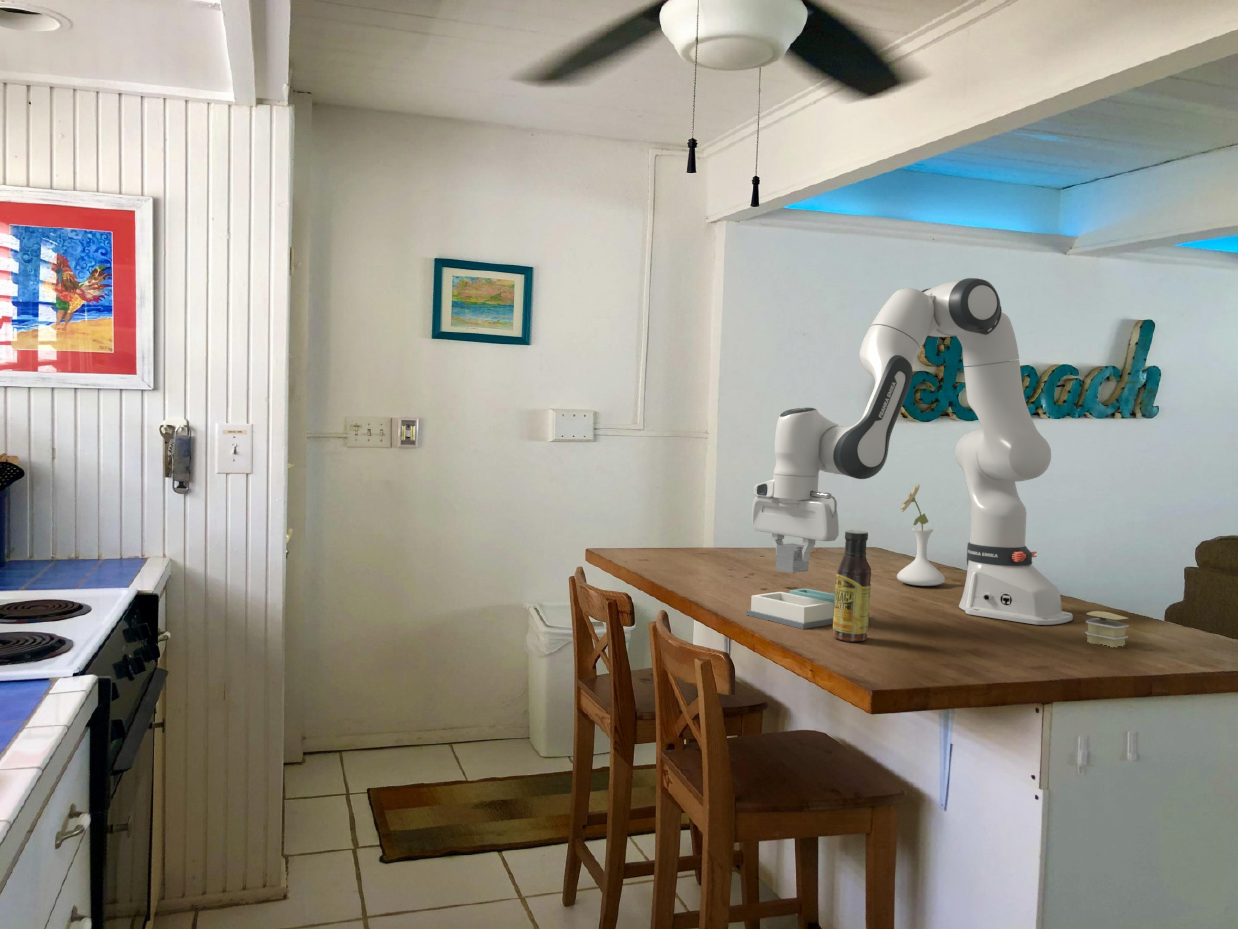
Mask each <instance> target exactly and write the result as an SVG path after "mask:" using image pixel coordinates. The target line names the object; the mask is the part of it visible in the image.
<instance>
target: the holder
mask: <svg viewBox="0 0 1238 929" xmlns="http://www.w3.org/2000/svg"><path fill="white" fill-rule="evenodd" d="M750 600H751V601H750V609H747V610H746V616H748V615H749V617H751V618H757V619H761V620H764V619H766V620H765V621H768V620H770V621H769V622H772V621H773V622H774V623H777V624H781V625H786V626H789V627H793V628H796V629H802V630H806V629H811V628H817V627H822V626H823V627H824V626H828V625H833V617H834V602H835V593H830V592H825V591H820V590H815V589H811V588H810V589H809V588H798V589H791V590H789V592H784V591H776V592H770V593H769V592H768V593H761V594H754V595H751V599H750ZM870 614H871V613H870V612H869V616H870ZM773 622H772V623H773Z"/></svg>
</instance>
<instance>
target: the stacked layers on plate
mask: <svg viewBox="0 0 1238 929" xmlns="http://www.w3.org/2000/svg"><path fill="white" fill-rule="evenodd" d="M1085 614H1086V615H1088V616H1092V617H1091V618H1088V619H1086V620H1085V623H1087V630H1085V634H1086V635H1087V640H1086V642H1087V643H1088V642H1089V644H1093V645H1100V644H1103V645H1102V646H1104V645H1107V646H1106V647H1108V646H1110V648H1113V647H1115V648H1119V647H1118V646H1122V647H1124V646H1123V645H1125V646H1126V639H1128V637H1129V636H1128V635H1126V630H1127V628H1129V625H1130V624H1127V623H1122V622H1119V621H1117V620H1120V621H1121V620H1125V619H1127V620H1128V617H1126V616H1123V615H1119V614H1116V613H1112V612H1108V611H1100V610H1093V611H1089V612H1087V613H1085Z"/></svg>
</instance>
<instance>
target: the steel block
mask: <svg viewBox="0 0 1238 929" xmlns="http://www.w3.org/2000/svg"><path fill="white" fill-rule="evenodd" d="M804 546H805V544H804V545H803V544H798V543H783V544H779V545H777V551H776V550H775V558H776V559H775V570H776V571H781V572H786V573H787V572H788V573H791V574H794V573H795V574H796V573H805V572H809V561H810V560H809V561H800V560H799V559H798V557H799V555H798V553H799V552H802V550H803V548H804Z"/></svg>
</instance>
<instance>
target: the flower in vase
mask: <svg viewBox="0 0 1238 929" xmlns="http://www.w3.org/2000/svg"><path fill="white" fill-rule="evenodd" d="M920 487H921V486H920V483H918V484H916V485H914V487H913V488H912V489H913V490H912V491H910V492H909V493H908V498H907V499H906V500H904V501H903V503H902V506H901V507H900V511H901V513H902V512H904V511H906V510H907V509H908V508H909V507H910V505H911V504H912V503H914V504H915V505H916V508H917V510H918V513H919V516H917V517H916V518H915V519H914V521H913V523H912V525H913V526H916V525H917V524H918V523H920V526H921V527H913V528H911V530H912V532H913V533H914V535H915V536H914V537H915V539H916V555H915V559H914V560H913V561H911V563H909V564H908V565H906V566H904V568H902V569H901V570H899V572H898V573H897V575H896V578H897V580H898V581H899V582H902V583H904V584H907V585H911V586H918V587H932V586H939V585H941V584H943V583H944V582H945V581H946V578H945V575H944V574H943V573H941V572H940V571H939V570H938V569H937V567H935V566H934V565H933V564H932V563H931V562H930V561H929V559H928V554H927V552H928V551H927V550H928V549H927V548H928V542H929V537H930V535H931V534H932V533H933V532H934V529H932V528H925V527H924V525H925V524H928V523H929V519H928V518H927V516H926V514H925V513H923V514H922V512H921V509H920V507H919V504H918V502H917V501H916V498H915V497H916V496H917V494H918V492H919V490H920Z"/></svg>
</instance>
